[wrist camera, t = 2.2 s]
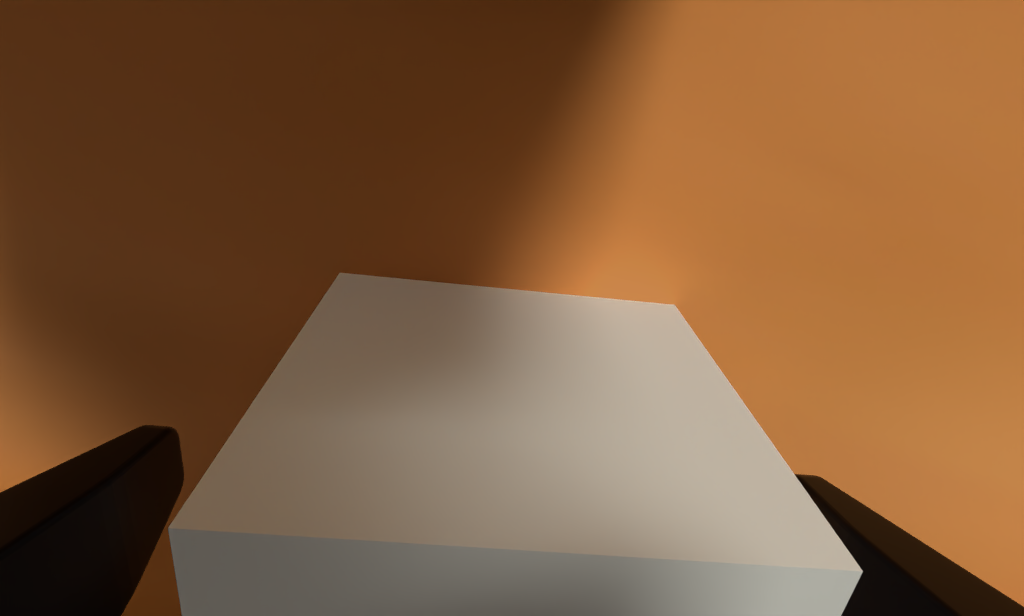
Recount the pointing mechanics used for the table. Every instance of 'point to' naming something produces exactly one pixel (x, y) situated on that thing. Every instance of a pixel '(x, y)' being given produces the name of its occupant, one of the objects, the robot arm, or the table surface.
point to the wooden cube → (501, 471)
